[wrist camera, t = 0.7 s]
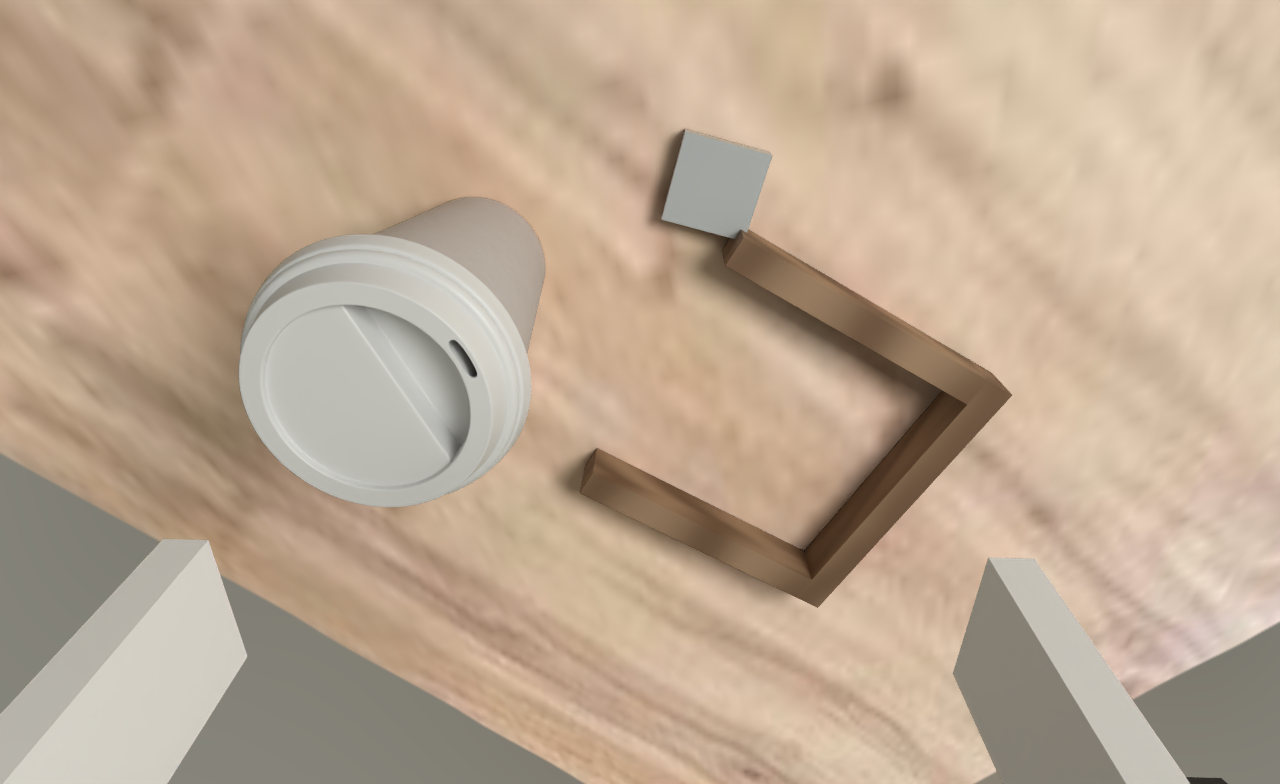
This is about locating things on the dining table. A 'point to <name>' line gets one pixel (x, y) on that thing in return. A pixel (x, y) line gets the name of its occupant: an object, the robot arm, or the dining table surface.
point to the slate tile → (715, 184)
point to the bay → (883, 493)
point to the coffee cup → (397, 354)
